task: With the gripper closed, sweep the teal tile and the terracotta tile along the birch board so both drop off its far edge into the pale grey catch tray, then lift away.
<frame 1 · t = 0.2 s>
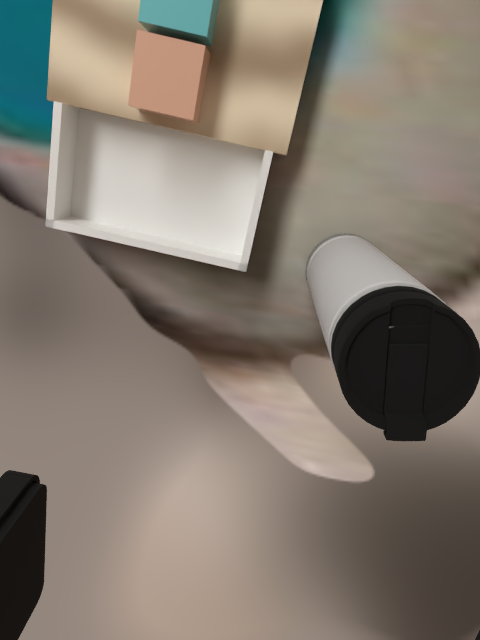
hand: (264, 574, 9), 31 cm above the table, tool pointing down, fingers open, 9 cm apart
tile terracotta: (173, 82, 32), point 2 cm above the table, touching board
travel mug: (342, 271, 38), on the table
tile teal: (185, 1, 30), point 2 cm above the table, touching board
board: (187, 44, 33), on the table
catch tray: (165, 188, 37), on the table
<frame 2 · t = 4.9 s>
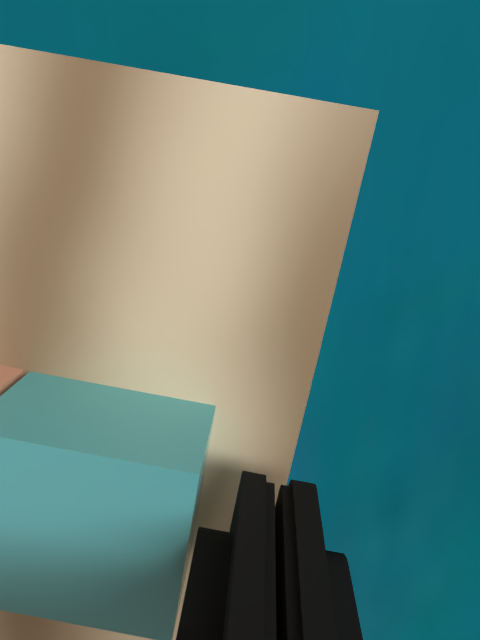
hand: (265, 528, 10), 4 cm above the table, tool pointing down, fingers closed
tile teal: (115, 466, 11), point 3 cm above the table, touching gripper
board: (89, 404, 14), on the table
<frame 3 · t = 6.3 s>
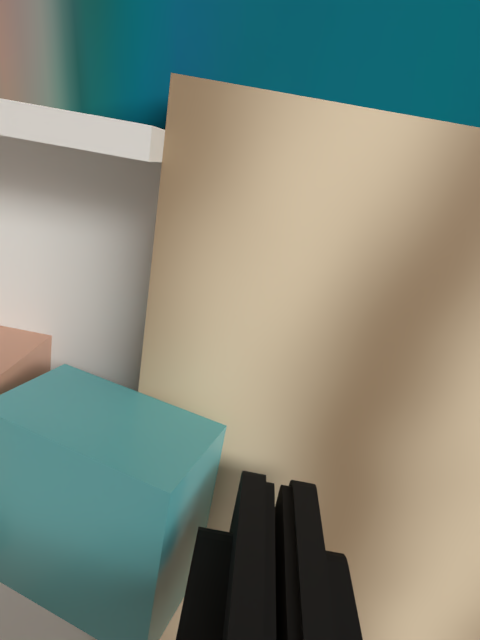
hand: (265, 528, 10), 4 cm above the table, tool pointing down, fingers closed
tile terracotta: (6, 450, 11), point 3 cm above the table, tilted 90°, touching catch tray
tile teal: (131, 469, 11), point 3 cm above the table, tilted 18°, touching board
board: (347, 450, 14), on the table
catch tray: (11, 388, 14), on the table
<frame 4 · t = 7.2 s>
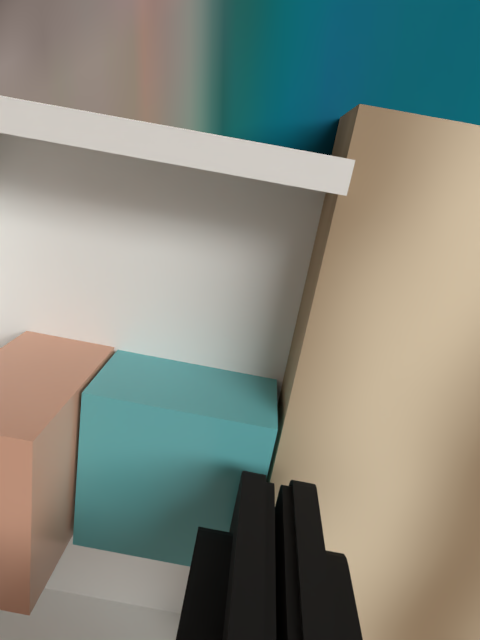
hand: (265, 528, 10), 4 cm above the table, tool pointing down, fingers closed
tile terracotta: (77, 464, 11), point 3 cm above the table, tilted 90°, touching catch tray
tile teal: (186, 432, 13), resting on catch tray
board: (462, 472, 14), on the table
catch tray: (123, 409, 14), on the table
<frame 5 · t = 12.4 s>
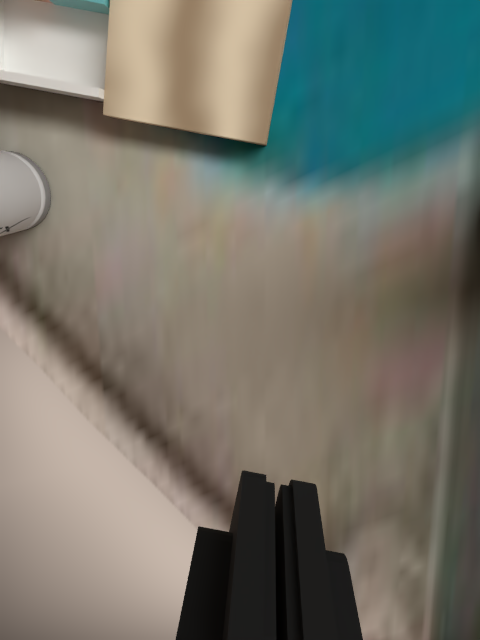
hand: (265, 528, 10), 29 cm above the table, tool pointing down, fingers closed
travel mug: (14, 191, 37), on the table
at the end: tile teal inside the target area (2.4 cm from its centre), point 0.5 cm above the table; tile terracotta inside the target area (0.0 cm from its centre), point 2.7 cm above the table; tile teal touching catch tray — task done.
